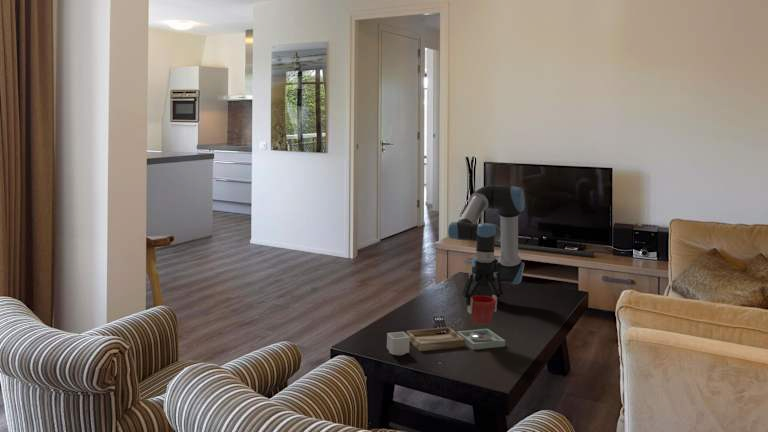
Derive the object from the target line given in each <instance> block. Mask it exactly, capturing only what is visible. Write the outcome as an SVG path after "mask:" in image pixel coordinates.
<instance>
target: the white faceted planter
mask: <svg viewBox="0 0 768 432" xmlns="http://www.w3.org/2000/svg"><path fill="white" fill-rule="evenodd" d="M386 349H387V350H388V353H389V354H390V355H393V356H403V355H406V354H407V353H408V354H409V353H410V337H408V336H407V335H406V332H405V331H396V332H387V333H386Z"/></svg>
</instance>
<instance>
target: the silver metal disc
mask: <svg viewBox="0 0 768 432" xmlns="http://www.w3.org/2000/svg"><path fill="white" fill-rule="evenodd" d="M470 338H472V339H474V340H478V341H488V340H490V339H491V335H490V334H488V333H485V332H472V333H471V334H470Z"/></svg>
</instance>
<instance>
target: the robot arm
mask: <svg viewBox="0 0 768 432" xmlns="http://www.w3.org/2000/svg"><path fill="white" fill-rule="evenodd" d="M525 202H526V198H525V192H524V190H523V188H522V187H520V186H519V187H518V186H514V185H511V186H509V185H506V186H505V185H495V184H494V185H493V184H490V185H486V186H483V187H482V186H481V187H480V188H478V189H477V190H475V191H474V192H472V194H471V195H470V196H469V198H468V204H467V206H466V207H465V209H464V211H463V213H462V215H461V216H460V218H459V219H458V220H457V221H451V222H450V223H449V225H448V229H447V234H448V238H449V239H452V240H456V241H469V242H476V248H475V257H474V258H473V259H472V263H471V273H470V272H469V273H467V279H466V281H465V282H466V283H465V285H464V288H463V291H462V294H461V295H462V297H464V298H465V304H466V306H467V311H466V312H467V313H469V314H470V315H472V304H473V298H471V297H473V296H489V297H492V298H494V299H496V303H495V308H494V312H493V313H495V312H497V309H498V308H497V306H498V304H499V302H500V301H499V300H500V298H501V296H503V295H504V290H503V286H502V283H503V284H510V285H519V284H520V283H521V282H522V279H523V275H524V274H523V273H524V269H525V262H523V261H522V258H521V257H520V255H519V216H521V214H522V212H524V210H525V206H526V205H525ZM488 209H489V210H496V213H497V215H498V216H499V219H500V222H499V224H500V225H497V224H496V223H495V224H494V223H489V222H482V223H481V222H479V223H477V222H478V221H479V219H480V217H481V216H482V214H483V213H484V211H486V210H488ZM499 239H500V255H499V256H498V258H497V259H496V256H495V247H496V246H495V245H496V242H498V240H499ZM494 282H495V284H494ZM495 285H496V286H495Z"/></svg>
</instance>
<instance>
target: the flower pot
mask: <svg viewBox="0 0 768 432" xmlns="http://www.w3.org/2000/svg"><path fill="white" fill-rule="evenodd" d="M471 298H473V304H472V314H471V319H472V321H473V323H476V324H479V325H481V324H482V325H483V324H484V325H486V324H491V322H492V319H493V316H494V313H495V312H494V308H495V303H496V299H494V298H492V297H489V296H473V297H471Z"/></svg>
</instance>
